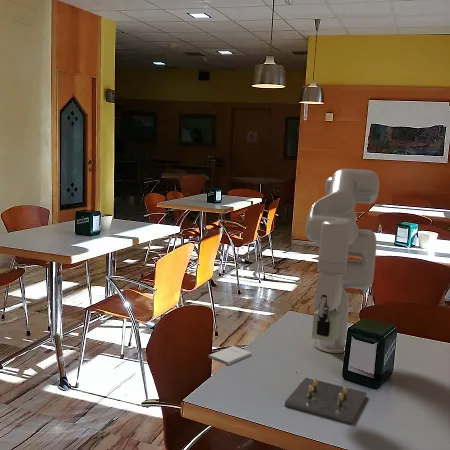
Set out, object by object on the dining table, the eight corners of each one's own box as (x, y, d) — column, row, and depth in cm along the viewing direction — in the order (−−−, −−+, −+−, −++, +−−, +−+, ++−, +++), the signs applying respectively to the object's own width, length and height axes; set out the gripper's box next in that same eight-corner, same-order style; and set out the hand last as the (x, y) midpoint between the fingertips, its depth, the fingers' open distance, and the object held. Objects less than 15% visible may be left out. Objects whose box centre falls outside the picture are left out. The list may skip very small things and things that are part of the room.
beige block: (318, 331, 150) (320, 307, 149) (339, 336, 148) (341, 311, 147) (311, 337, 145) (313, 312, 144) (333, 342, 142) (335, 317, 141)
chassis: (305, 381, 160) (306, 368, 159) (366, 396, 152) (367, 382, 151) (284, 405, 144) (285, 390, 143) (351, 424, 136) (353, 408, 135)
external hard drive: (208, 359, 174) (232, 349, 183) (227, 367, 169) (251, 356, 178) (208, 354, 173) (232, 345, 183) (228, 362, 168) (251, 352, 178)
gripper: (327, 259, 153) (322, 321, 155) (308, 270, 138) (302, 338, 140) (353, 263, 149) (348, 326, 152) (336, 275, 134) (330, 344, 137)
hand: (326, 331), depth 146 cm, fingers closed on beige block, 6 cm apart
